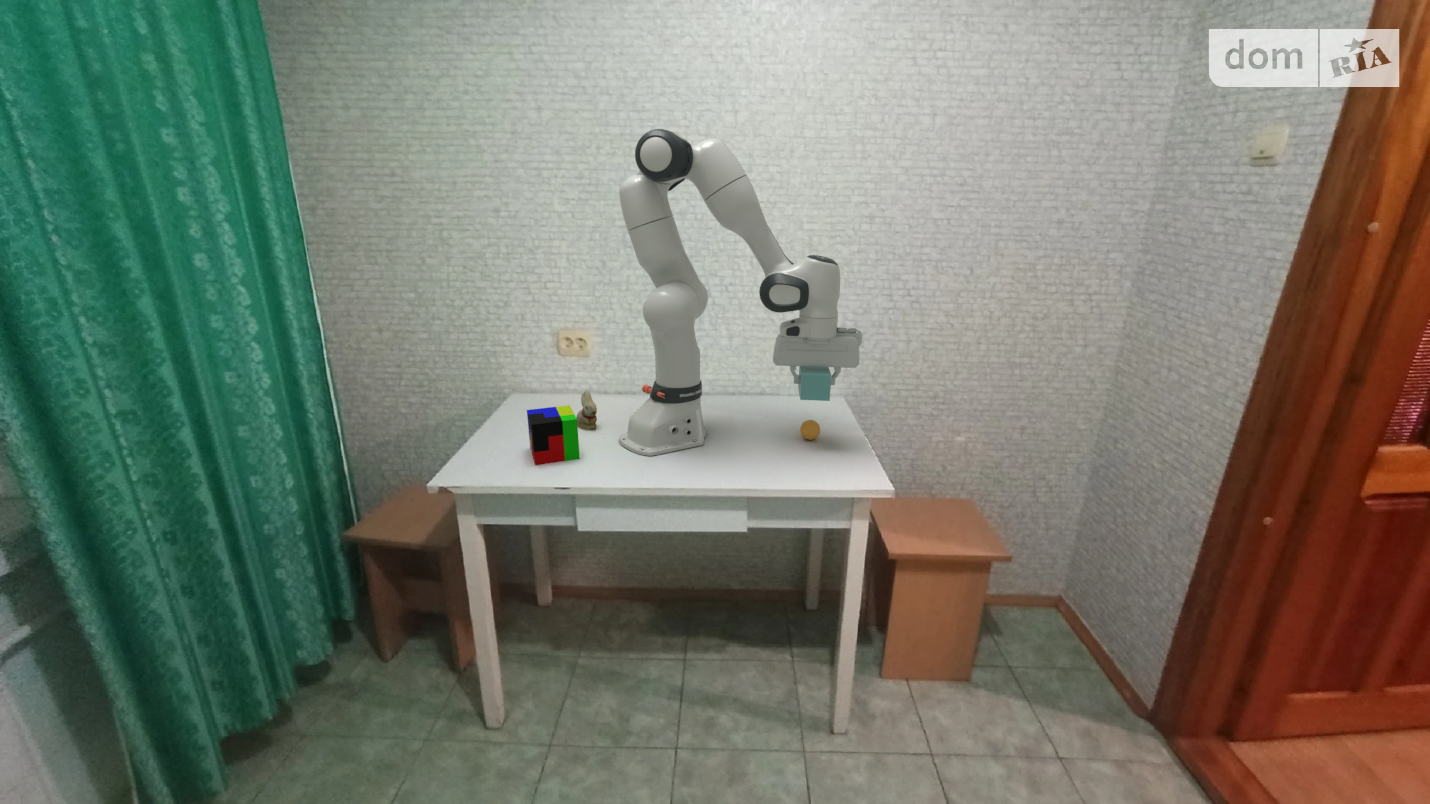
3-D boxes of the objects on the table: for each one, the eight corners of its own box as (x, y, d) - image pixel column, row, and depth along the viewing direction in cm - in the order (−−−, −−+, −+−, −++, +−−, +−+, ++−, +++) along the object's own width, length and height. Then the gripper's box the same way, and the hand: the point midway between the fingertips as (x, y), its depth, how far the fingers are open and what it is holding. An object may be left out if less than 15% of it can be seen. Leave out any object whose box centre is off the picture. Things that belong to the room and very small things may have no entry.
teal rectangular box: (829, 400, 147) (831, 375, 145) (800, 399, 148) (801, 374, 146) (825, 388, 157) (827, 363, 155) (798, 387, 157) (799, 363, 155)
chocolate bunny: (576, 431, 162) (573, 395, 159) (576, 420, 169) (574, 385, 166) (597, 430, 163) (595, 393, 160) (597, 419, 170) (595, 384, 167)
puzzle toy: (530, 448, 152) (526, 409, 149) (572, 443, 155) (569, 405, 152) (535, 465, 143) (531, 424, 140) (579, 459, 147) (577, 419, 143)
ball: (809, 413, 160) (808, 428, 163) (796, 422, 157) (795, 436, 160) (825, 422, 157) (823, 437, 160) (812, 431, 154) (810, 446, 158)
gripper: (861, 325, 149) (856, 381, 154) (774, 323, 150) (771, 378, 155) (865, 331, 143) (859, 389, 148) (774, 328, 144) (772, 386, 149)
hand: (814, 383), depth 151 cm, fingers closed on teal rectangular box, 7 cm apart
